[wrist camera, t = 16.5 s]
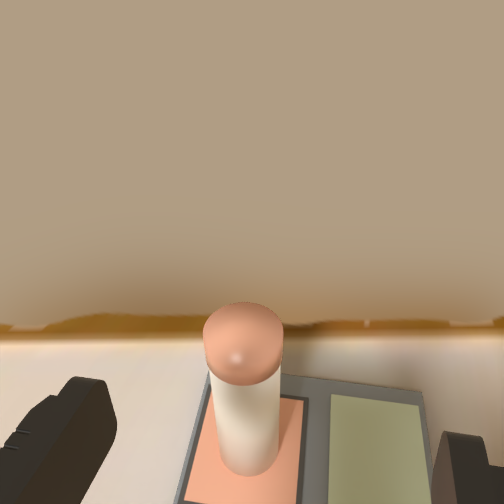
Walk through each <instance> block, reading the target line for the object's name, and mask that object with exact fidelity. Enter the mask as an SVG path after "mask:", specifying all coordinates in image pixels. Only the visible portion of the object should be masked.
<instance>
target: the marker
mask: <svg viewBox="0 0 504 504" xmlns="http://www.w3.org/2000/svg"><path fill="white" fill-rule="evenodd" d="M203 339H204V347H205V355H206V361H207V365H208V367H209V372H210V380H211V388H212V396H213V404H214V411H215V419H216V427H217V435H218V443H219V450H220V456H221V459H222V461H223V463H224V464H225V466H226V467H227V468H228V469H229V470H230V471H232V472H233V473H235V474H238V475H241V476H256V475H259V474H262V473H264V472H265V471H267V470H268V469H269V468H270V467H271V466H272V465H273V463H274V462H275V460H276V458H277V455H278V446H279V409H280V372H281V362H282V356H283V326H282V323H281V321H280V319H279V318H278V316H277V315H276V314H275V313H274V312H273V311H272V310H270V309H269V308H267V307H265V306H262V305H260V304H256V303H250V302H239V303H233V304H229V305H226V306H224V307H222V308H220V309H218V310H217V311H216V312H214V313H213V314H212V315H211V316H210V317H209V318H208V320H207V321H206V323H205V326H204V329H203Z"/></svg>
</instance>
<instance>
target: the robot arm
mask: <svg viewBox="0 0 504 504" xmlns="http://www.w3.org/2000/svg"><path fill="white" fill-rule="evenodd" d="M116 431H117V420H116V416H115V412H114V409H113V405H112V402H111V398H110V395H109V391H108V388H107V385H106V383H105V381H103V380H98V379H91V378H84V377H77V376H75V377H72V378H71V379H70V380H69V381H68V382H67V383H66V384H65V386H64V387H63V388H62V390H61V391H60V393H59V394H58V395H57V396H54V395H49V396H48V397H47V398H45V399H44V400H43V401H41V402H40V403H39V404H37V405H36V406H35V407H34V408H32V409H31V410H30V411H29V412H28V414H27V415H26V416H25V417H24V419H23V420H22V421H21V423H20V424H19V425H18V427H17V428H16V431H15V432H13V433H12V434H11V436H10V437H9V438H8V439H7V441H6V442H5V443H4V447H3V448H0V504H80V503H81V501H82V499H83V498H84V496H85V494H86V492H87V490H88V489H89V487H90V485H91V483H92V481H93V479H94V478H95V476H96V474H97V472H98V470H99V469H100V467H101V465H102V463H103V461H104V459H105V458H106V456H107V454H108V452H109V450H110V448H111V447H112V445H113V442H114V439H115V436H116ZM431 502H432V504H504V467H498V466H492V465H489V462H488V458H487V453H486V449H485V445H484V441H483V439H482V438H481V437H480V436H474V435H467V434H460V433H454V432H447V431H444V432H443V433H442V436H441V440H440V444H439V449H438V453H437V457H436V461H435V465H434V469H433V474H432V483H431Z"/></svg>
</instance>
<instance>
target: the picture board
mask: <svg viewBox="0 0 504 504" xmlns="http://www.w3.org/2000/svg"><path fill="white" fill-rule="evenodd" d="M432 474H433V466H432V459H431V452H430V445H429V438H428V431H427V424H426V417H425V410H424V403H423V396H422V392H417V391H409V390H402V389H394V388H387V387H379V386H371V385H364V384H356V383H348V382H341V381H333V380H325V379H318V378H310V377H303V376H295V375H287V374H280V409H279V446H278V455H277V458H276V460H275V462H274V463H273V465H272V466H271V467H270V468H269V469H268V470H267V471H265V472H264V473H262V474H259V475H256V476H241V475H238V474H235V473H233V472H232V471H230V470H229V469H228V468H227V467H226V466H225V464H224V463H223V461H222V459H221V456H220V450H219V443H218V435H217V427H216V419H215V411H214V404H213V396H212V388H211V380H210V372H208V375H207V379H206V383H205V387H204V390H203V394H202V398H201V402H200V405H199V409H198V413H197V417H196V420H195V424H194V428H193V432H192V435H191V439H190V443H189V447H188V450H187V454H186V458H185V462H184V465H183V469H182V473H181V477H180V480H179V484H178V488H177V492H176V495H175V499H174V503H173V504H432V502H431V483H432Z"/></svg>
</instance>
